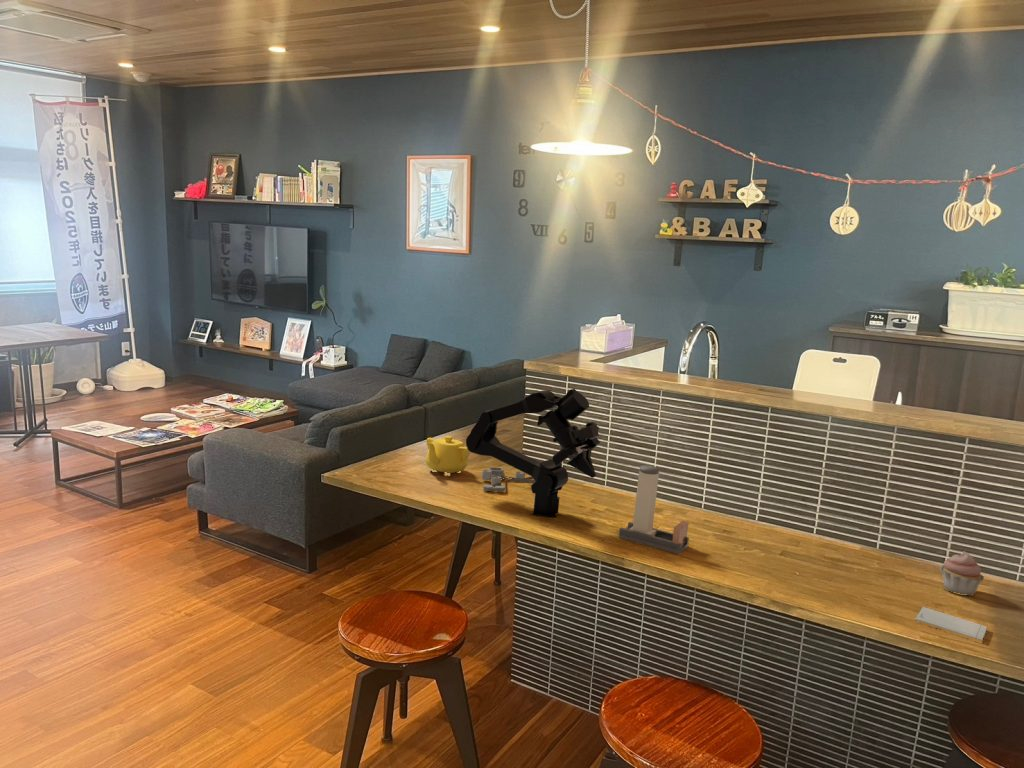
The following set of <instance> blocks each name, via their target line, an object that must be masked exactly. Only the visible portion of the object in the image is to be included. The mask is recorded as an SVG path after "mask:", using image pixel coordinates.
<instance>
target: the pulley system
mask: <svg viewBox="0 0 1024 768" xmlns="http://www.w3.org/2000/svg"><path fill="white" fill-rule="evenodd" d="M504 471H505V468H501V467H489V468H488V469H482V471H481V480H484V481H490V482H491V484H492V485H491V484H484V485H483V486H482V488H483V489H482V490H484V491H485V492H486V491H490V492H500V493H501V492H505V491H506V486H507V485H506V484H507V482H506V481H515V482H514V483H529V482H532V483H531V484H534V483H535V480H534V479H533V477H532V476H529V477H526V473H524V472H522V471H515V473H514V474H515V475H514V476H515V477H513V476H506V475H505V472H504ZM504 477H509V478H512V479H508V478H506V479H505V478H504ZM503 478H504V479H505V483H504V485H502V480H501V479H503ZM491 479H492V481H491ZM527 479H528V480H527Z"/></svg>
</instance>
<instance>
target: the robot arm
mask: <svg viewBox="0 0 1024 768" xmlns="http://www.w3.org/2000/svg"><path fill="white" fill-rule="evenodd" d="M554 408H556V409H555V410H553V409H554ZM589 408H590V403H589V400H588V399H587V397H586V396H584V395H583V394H582V393H580V392H578V391H577V390H576V388H571V389H570V390H568V392H566V394H565V395H563V396H562V397H561V396H558V395H556V394H554V393H553V392H552V390H549V389H545V390H540V391H534V392H532V393H530V394H529V395H527V396H525V397H523V399H521V400H519V401H516V402H513V403H511V404H506V405H504V406H500V407H497V408H494V409H489V410H485V411H483V412H482V413H481V414H480V416H479V419H478V420H477V422H476V423H475V424H474V425H473V427H472V429H471V430H470V432H469V434H468V436H466V439H465V444H466V446H465V447H467V449H468V450H469V451H470V453H471V454H472V453H473V454H475V455H479V456H487V457H492V458H494V459H496V460H498V461H500V462H502V463H504V464H506V465H508V466H510V467H512V468H515V469H516V470H518V471H519V472H524V473H525V475H528V476H529V477H531V476H532V477H533V478H532V480H535V483H531V485H530V489H531V493H532V494H534V503H533V509H532V515H535V516H542V517H550V518H556V517H557V514H558V513H559V509H560V508H559V507H560V498H561V497H560V496H558V495H559V491H561V490H562V489H563V487H564V486H565V485H566V484H568V481H569V474H568V472H567V471H568V470H567V469H566V468H565V467H564V466H563V462H565V461H566V460H567V459H568V460H569V461H568V462H566V465H567V466H568V465H569V466H571V467H573V468H575V469H577V470H578V471H580V472H582V473H583V474H585V475H587V476H588V477H589V478H592V479H594V478H595V477H597V473H596V470H595V467H594V464H593V461H592V457H591V455H592V451H593V450H594V449H595V448H596V447H598V446H599V445H600V444H601V442H600V440H599V439H598V438H597V436H600V433H599V430H600V427H599V426H598V424H597V423H595V421H590V422H586V423H585V427H582V428H579V427H578V426H577V425H572V424H571V422H570V421H569V420H571V421H574V420H576V419H577V417H579V416H580V415H581V414H583V413H584V412H585V411H587V410H588V409H589ZM546 411H547V412H546ZM543 412H546V413H545V414H540V415H538V417H537V418H538V419H537V424H536V425H537V426H539V427H541V426H543V425H546V427H547V428H548V430H549V432H550V433H551V434H552V436H553V437H554V438H553V439H552V441H553V443H558V445H559V446H560V448H561V449H560V450H559V451H557V452H556V453H555V454H554V455H552V457H551V458H552V459H551V458H550V459H547V460H543V461H538V460H536V459H534V458H532V457H530V456H529V455H526V454H523V453H521V452H520V451H518V450H515V449H513V448H511V447H510V446H507V445H506V444H503V443H502V442H500V440H499V438H498V437H497V436H496V434H497V432H498V431H497V428H498V427H497V426H498V423H499V422H500V421H504V420H506V419H510V418H513V417H517V416H520V415H523V414H536V413H537V414H538V413H543Z"/></svg>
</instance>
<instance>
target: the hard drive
mask: <svg viewBox="0 0 1024 768" xmlns="http://www.w3.org/2000/svg"><path fill="white" fill-rule="evenodd" d="M915 620H916V621H919V622H923V623H926V624H929V625H933V626H935V627H939V628H941V629H945V630H948V631H952V632H954V633H958V634H962V635H964V636H968V637H972V638H975V639H979V640H982V641H983V642H984V640H983V638H984V639H985V637H986V635H985V633H986V634H987V632H988V626H987V625H986V626H985V625H983V624H980V623H976V622H973V621H969V620H967V619H963V618H960V617H957V616H954V615H951V614H948V613H945V612H941V611H937V610H935V609H931V608H928V607H925V606H922V607H921V609H920V610H919V612H918V614H917V616H916V617H915ZM915 620H914V621H915ZM986 631H987V632H986ZM984 636H985V637H984Z"/></svg>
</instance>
